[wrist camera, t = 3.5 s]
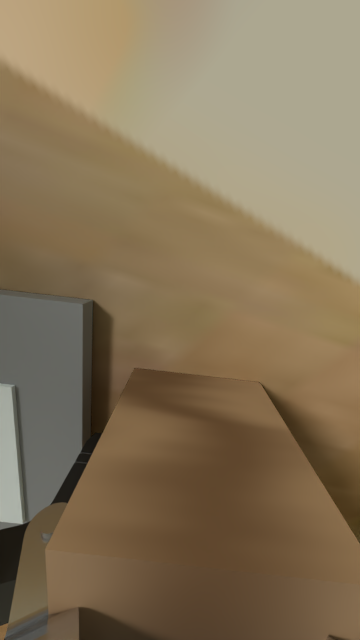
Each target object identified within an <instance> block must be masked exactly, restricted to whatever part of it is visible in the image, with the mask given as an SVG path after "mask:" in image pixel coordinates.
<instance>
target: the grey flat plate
mask: <svg viewBox="0 0 360 640" xmlns="http://www.w3.org/2000/svg"><path fill="white" fill-rule="evenodd" d="M92 323H93V300H88V299H79V298H70V297H62V296H53V295H44V294H36V293H27V292H18V291H9V290H1V289H0V530H1V529H5V528H9V527H14V526H18V525H21V524H24V523H27V522H29V521H31V520H32V519H33V518H34V517H35V515H36V514H37V513H39V512H40V511H41V510H42V509H44V508H45V507H47V506H49V505H50V504H51V503H52V501H53V500H54V498H55V496H56V495H57V493H58V491H59V489H60V487H61V486H62V484H63V482H64V480H65V478H66V477H67V475H68V473H69V471H70V470H71V468H72V466H73V464H74V463H75V461H76V459H77V457H78V455H79V454H80V452H81V450H82V448H83V446H84V445H85V443H86V441H87V440H88V439H89V438H91V386H92Z"/></svg>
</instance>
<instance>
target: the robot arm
mask: <svg viewBox="0 0 360 640" xmlns="http://www.w3.org/2000/svg"><path fill="white" fill-rule="evenodd" d="M101 435H102V433H95V434H94V435H93V436H92V437H91V438H89V439H88V440H87V441H86V443H85V445H84V446H83V448H82V450H81V452H80V454H79V455H78V457H77V459H76V461H75V463H74V464H73V466H72V468H71V470H70V471H69V473H68V475H67V477H66V478H65V480H64V482H63V484H62V486H61V487H60V489H59V491H58V493H57V495H56V496H55V498H54V500H53V501H52V503H51V504H50V505H49V506H47V507H45V508H44V509H42V510H41V511H40V512H39V513H37V514H36V515H35V517H34V518H33V519H32V520H31V521H29V522H27V523H24V524H21V525H18V526H14V527H9V528H5V529H1V530H0V626H1V625H4V624H6V623H8V628H7V632H6V636H5V639H4V640H79V607H76V608H72V609H68V610H66V611H64V612H61V613H57V614H48V595H47V576H46V557H45V549H46V547H47V545H48V543H49V541H50V538H51V536H52V534H53V532H54V530H55V528H56V526H57V524H58V522H59V520H60V518H61V516H62V514H63V512H64V510H65V508H66V506H67V504H68V502H69V500H70V498H71V496H72V494H73V492H74V490H75V488H76V486H77V484H78V482H79V480H80V478H81V476H82V474H83V472H84V470H85V468H86V466H87V464H88V461H89V459H90V457H91V455H92V453H93V451H94V449H95V447H96V445H97V443H98V441H99V439H100V437H101ZM326 640H337V639H335V638H334V637H332V636H330V635H328V636H327V639H326Z"/></svg>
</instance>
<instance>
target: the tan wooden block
mask: <svg viewBox="0 0 360 640" xmlns="http://www.w3.org/2000/svg"><path fill="white" fill-rule="evenodd" d="M45 557H46V576H47V595H48V614H57V613H61V612H64V611H66V610H68V609H72V608H76V607H79V640H326V639H327V636H328V635H330V636H332V637H334V638H335V639H337V640H360V543H359V542H358V540H357V539H356V537H355V535H354V534H353V532H352V531H351V529H350V527H349V526H348V524H347V522H346V521H345V519H344V518H343V516H342V514H341V513H340V511H339V510H338V508H337V506H336V505H335V503H334V502H333V500H332V498H331V497H330V495H329V493H328V492H327V490H326V489H325V487H324V485H323V484H322V482H321V481H320V479H319V477H318V476H317V474H316V472H315V471H314V469H313V468H312V466H311V464H310V463H309V461H308V460H307V458H306V456H305V455H304V453H303V451H302V450H301V448H300V447H299V445H298V443H297V442H296V440H295V439H294V437H293V435H292V434H291V432H290V431H289V429H288V427H287V426H286V424H285V422H284V421H283V419H282V418H281V416H280V414H279V413H278V411H277V410H276V408H275V406H274V405H273V403H272V401H271V400H270V398H269V397H268V395H267V393H266V392H265V390H264V389H263V387H262V385H261V384H260V382H253V381H244V380H235V379H226V378H217V377H209V376H200V375H191V374H182V373H173V372H164V371H155V370H147V369H138V368H134V370H133V372H132V374H131V376H130V378H129V380H128V382H127V384H126V387H125V389H124V391H123V393H122V395H121V397H120V399H119V401H118V403H117V405H116V407H115V409H114V411H113V413H112V415H111V417H110V419H109V421H108V423H107V425H106V427H105V429H104V431H103V433H102V435H101V437H100V439H99V441H98V443H97V445H96V447H95V449H94V451H93V453H92V455H91V457H90V459H89V461H88V464H87V466H86V468H85V470H84V472H83V474H82V476H81V478H80V480H79V482H78V484H77V486H76V488H75V490H74V492H73V494H72V496H71V498H70V500H69V502H68V504H67V506H66V508H65V510H64V512H63V514H62V516H61V518H60V520H59V522H58V524H57V526H56V528H55V530H54V532H53V534H52V536H51V538H50V541H49V543H48V545H47V547H46V549H45Z"/></svg>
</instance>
